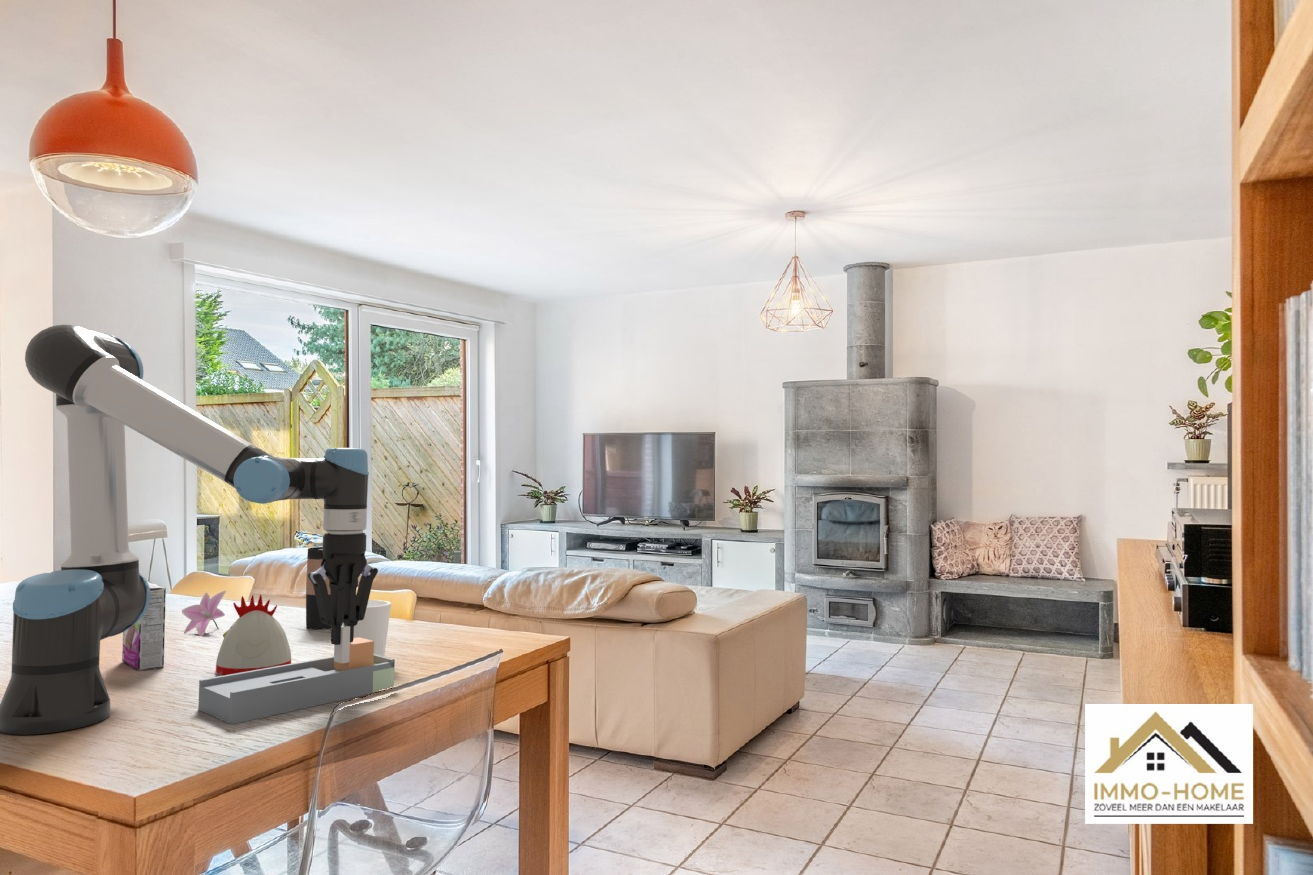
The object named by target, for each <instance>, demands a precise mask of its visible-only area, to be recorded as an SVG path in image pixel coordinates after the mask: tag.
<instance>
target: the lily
mask: <svg viewBox="0 0 1313 875" xmlns="http://www.w3.org/2000/svg"><path fill="white" fill-rule="evenodd" d="M226 593H227V591H226V590H223V591H220V592H219V593H217V594H214V595H213V596H212V597H210V595H209V593H208V592H204V594H203V596H202V598H201V600H200V603H199V604H193V605H190V606H187V607H185V608H183V609H181V613H182V615H183V616H185V618H187V619H189V620H190V621H189V623H188V624H187V626H186V627H185V629H184V631H183V634H187V633H189V632H190V631H192V630H194V629H195V630H196V632H197V634H198V635H199V637H203V636H204V635H205V633H206V630H207V628H208V625H209V624H210V622H211V621H213V622H214V625H215V627H216V629H217V630H219V629H220V628H219V626H218V623H217V622H216V621H215V620H216V619H219V618H222V617H225V616H226V614H225V612H224V611H222V610H221V609H219V608H218V606H219V604H220V603H221V601H222V599H223V597H225V595H226Z"/></svg>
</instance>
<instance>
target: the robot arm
mask: <svg viewBox="0 0 1313 875" xmlns="http://www.w3.org/2000/svg"><path fill="white" fill-rule="evenodd" d="M142 361H143V360H141V357H140V355H139V353H138V352H137V351H136V349H134V348H133V347H132V346H131V345H130V344H129V343H127V342H125V341H124V340H122V339H120V338H119V337H117V336H115V335H112V334H108V333H102V332H98V331H95V330H92V329H88V328H84V327H82V326H78V325H73V324H58V325H57V324H56V325H51V326H49V327H46V328H45V329H42V330H40V331H39V332H38V333H36V335H34V336H33V337H32V338H31V339H30V341H29V342H28V344H27V347H26V349H25V355H24V362H25V367H26V369H27V371H28V374H29V376H31V378H32V379H33V380H34V381H35V382H36V383H37V384H38V385H40V386H41V387H42V388H44V389H46V390H48V391H50V392H52V393H53V394H55V407H56V409H57V410H58V411H59V412H60V413H61V414H63V415H64V417H65V418H66V425H67V426H66V427H67V428H66V430H67V457H68V458H67V460H68V464H67V465H68V485H69V487H68V488H69V489H68V490H69V492H68V493H69V519H70V520H69V521H70V522H69V525H70V526H69V527H70V555H69V556H68V557H67V558H65V560H64V561H63V562H62V563H61V564H60V570H53V571H51V572H42V573H39V574H35V575H31V576H29V577H27V578H24V579H23V580H22V581H21V582H19V583H18V584H17V586H16V588H15V592H14V600H13V602H12V611H13V612H12V613H13V614H12V615H13V616H12V617H13V618H12V646H11V648H12V649H11V675H10V679H9V682H8V684H7V687H6V688H5V692H4V693H3V696H2V698H1V701H0V733H3V734H7V735H19V736H20V735H40V734H51V733H52V734H53V733H57V732H64V731H70V730H75V729H79V728H84V727H87V726H90V725H94V724H96V723H99V722H101V721H103V720H105V719H107V718H109V717H110V715H111V699H110V698H111V697H110V695H109V693H108V690H107V687H106V684H105V682H104V678H103V675H102V673H101V670H100V669H101V668H100V655H101V641H102V640H104V639H108V638H110V637H114V636H116V635H120V634H123V632H124V631H126V630H127V629H129V628H130V627H132V626H133V625H135V624H136V623H137V622H138V621H139V620H140V619H141V618H142V617H143V616H144V614H145V613H146V611H147V609H148V606H149V603H150V588H149V585H148V582H149V581H148V580H147V578H145V577H143V575H142V574H141V573H140V563H139V562H140V560H139V557H138V556H137V555H136V554H134V553H133V552H132V551H131V550H130V549H129V548H130V547H129V525H128V524H129V518H128V495H127V494H128V493H127V492H128V491H127V489H128V488H127V487H128V486H127V485H128V484H127V460H126V457H127V456H126V434H125V433H126V432H125V431H126V429H125V428H126V427H128V428H129V429H132V430H134V431H135V432H136V433H138V434H140V435H142V436H143V437H146V438H148V440H149V439H150V440H151V441H153V442H155V443H156V444H157V445H160V446H162V447H163V448H165V449H167V450H169V451H170V452H172V453H174V454H175V455H177V456H179V457H180V458H182V459H184V460H186V461H188V462H190V463H191V464H193V465H195V466H196V467H199V468H200V469H202V470H203V471H205V472H207V473H209V474H211V475H212V476H214V477H216V478H218V479H220V480H221V481H223V482H225V484H228V485H229V486H230V487H232V488H234V489H235V491H236V492H237V493H238V495H239V496H240V497H241V498H242V499H244V500H246V501H248V502H250V503H254V504H262V505H264V504H270V503H273V502H278V501H286V500H287V501H288V500H323V520H322V521H323V522H322V529H323V531H326V533H324V534H323V535H322V547H323V560H322V562H321V567H320V568H319V569H317V570H316V571H315V572H310V573H309V574H308V578H309V579H310V581H311V582H312V584H313V587H314V592H315V597H316V601H317V606H318V611H319V616H320V621H321V623H324V624H328V625H330V626H331V628H330V644H331V645H334V647H333V649H334V650H333V656H334V661H335V662H338V663H348V662H349V652H350V643H351V642H353V639H354V626H356V625H357V624H358V621H360V620H363V619H364V617H365V612H366V608H367V604H368V600H370V595H371V590H372V586H373V582H374V580H375V578H376V577H377V575H378V573H379V569H378V568H376V567H373V566H371V565H369V564H368V561H367V559H366V556H365V555H366V552H367V534H366V533H365V532H364V531H365V530H367V519H368V518H367V517H368V516H367V515H368V512H367V511H368V489H369V488H368V487H369V474H370V473H369V467H368V465H369V462H368V460H369V459H368V453H367V451H366V450H365V449H363V448H360V447H359V448H358V447H356V448H355V447H329V448H328V447H327V449H326V450H325V452H324V456H323V457H319V458H318V457H317V458H305V457H304V458H302V457H280V456H273V455H272V454H270V453H268V452H267V451H265V450H263V449H261V448H259V447H257V446H255V445H253V444H252V443H251V442H249V441H248V440H245V439H244V438H242V437H240V436H239V435H237V434H235V433H233V432H232V431H230V430H229V429H226V428H225V427H223V426H221V425H219V424H218V423H216V422H214V421H213V420H211V419H210V418H208V417H205V416H204V415H202V414H201V413H200V412H197V411H196V410H194V409H193V408H190V407H189V406H187V405H185V404H183V403H182V402H180V401H179V400H176V399H175V398H174V397H171V396H170V395H168V394H167V393H165V392H163V391H162V390H160V389H158V388H156V387H155V386H153V385H151V384H149V383H148V382H146V381H144V380H143V378H144V366H143V362H142ZM125 426H126V427H125ZM325 574H326V576H327V577H328V579H329V587H330V600H329V595H328V590H327V586H326V583H325V581H324V580H325V579H326V577H325ZM360 576H361V577H360ZM359 579H360V580H359ZM147 581H148V582H147ZM343 623H344V625H343Z"/></svg>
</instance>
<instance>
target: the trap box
mask: <svg viewBox="0 0 1313 875" xmlns="http://www.w3.org/2000/svg"><path fill="white" fill-rule="evenodd" d="M395 661H396V660H395V658H392V657H388V656H381V655H377V654H374V661H373V665H369V666H364V667H359V668H354V669H348V670H343V671H341V670H338V669H335V668H334V655H333V656H329V657H328V656H327V657H323V658H318V659H317V658H316V659H310V660H305V661H301V662H300V661H299V662H295V663H291V664H287V665H281V666H276V667H270V668H264V669H259V670H253V671H247V672H241V673H236V674H230V675H224V676H223V675H219V676H213V677H208V678H203V679H199V681H198V684H199V685H198V706H197V707H198V708H197V709H198V710H199V711H201V712H203V713H205V714H207V715H210V716H212V717H215V718H216V719H219V720H220V721H223V722H225V723H228V724H229V725H234V724H238V723H243V722H247V721H251V720H252V721H253V720H257V719H262V718H266V717H271V716H274V715H280V714H284V713H285V714H286V713H289V711H290V712H293V711H292V710H294V711H297V710H298V711H299V710H302V709H307V708H313V707H317V706H321V705H325V704H330V703H335V702H338V701H344V700H348V699H353V698H357V697H364V696H366V695H365V694H368V693H372V694H375V693H374V692H377V691H379V690H382V689H387V688H390V687H393V686H394V687H395V669H396V668H395ZM377 693H378V692H377ZM368 695H369V694H368Z"/></svg>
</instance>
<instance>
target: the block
mask: <svg viewBox="0 0 1313 875" xmlns="http://www.w3.org/2000/svg"><path fill="white" fill-rule="evenodd" d="M373 661H374V641H372V640H368V639H364V638H360V637H358V638H354V639H353V642H351V643H350V652H349V662H348V663H338V662H335V661H334V668H335V669H338V670H341V671H343V670H348V669H354V668H359V667H364V666H369V665H373Z"/></svg>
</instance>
